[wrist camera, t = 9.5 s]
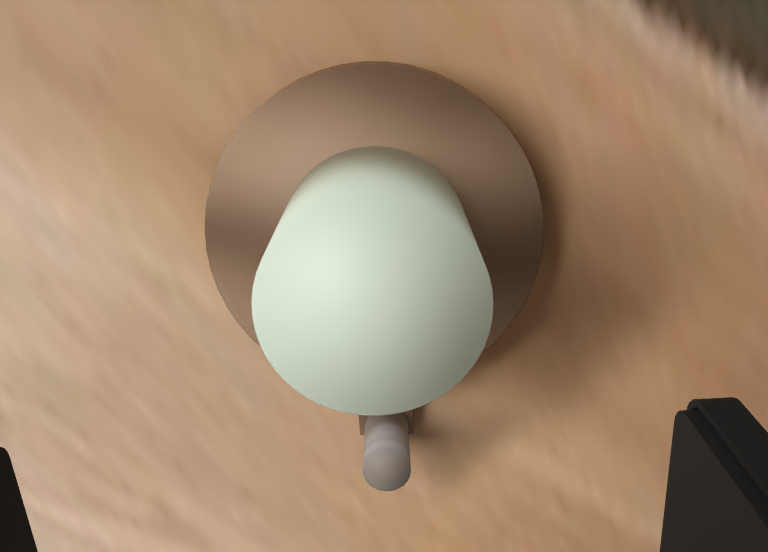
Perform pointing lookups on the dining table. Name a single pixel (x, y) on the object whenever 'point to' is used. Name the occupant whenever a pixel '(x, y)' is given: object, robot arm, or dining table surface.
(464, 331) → the pale green rounded cylinder
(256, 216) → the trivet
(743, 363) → the dining table surface
